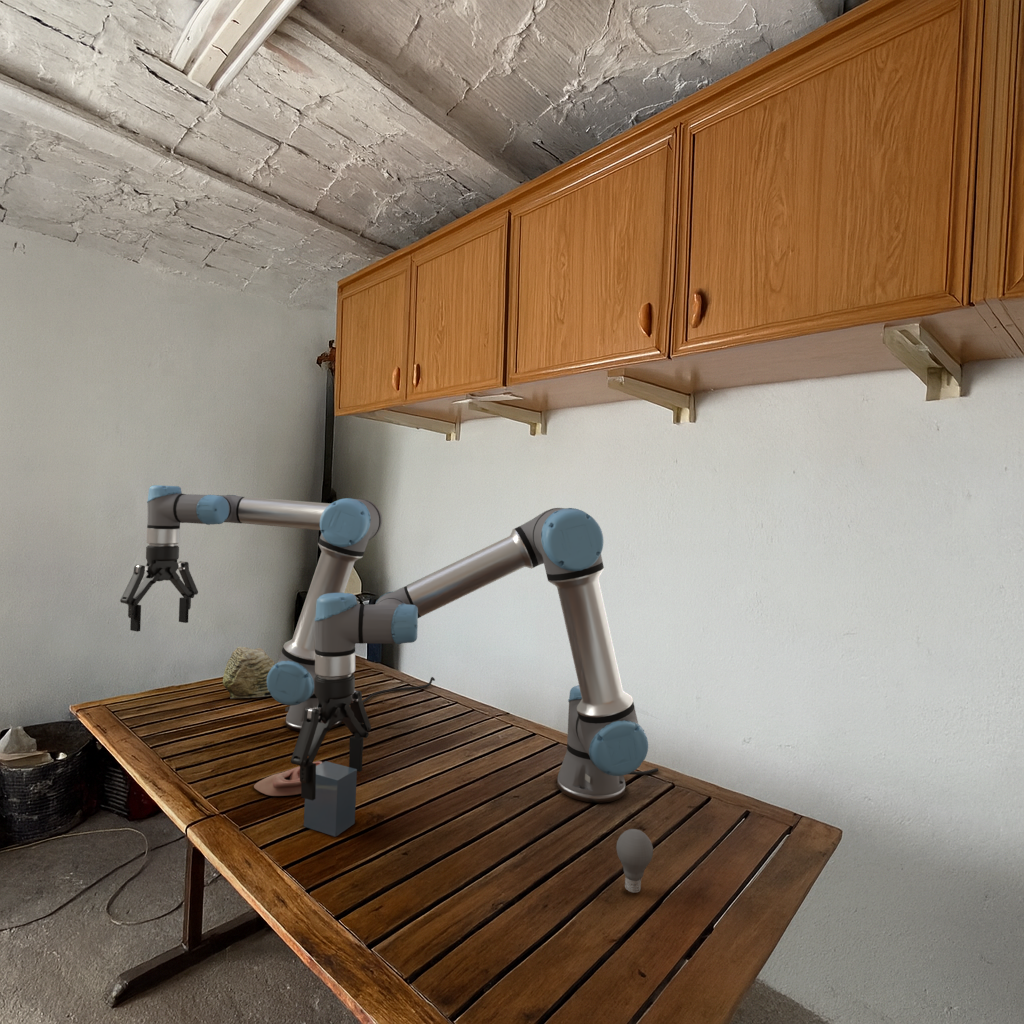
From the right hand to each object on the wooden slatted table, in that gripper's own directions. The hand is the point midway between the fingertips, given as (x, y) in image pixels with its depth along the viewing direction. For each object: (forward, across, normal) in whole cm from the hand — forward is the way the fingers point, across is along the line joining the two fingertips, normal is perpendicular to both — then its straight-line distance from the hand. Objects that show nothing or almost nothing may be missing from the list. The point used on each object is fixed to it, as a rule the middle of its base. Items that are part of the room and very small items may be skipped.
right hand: (333, 783), depth 122 cm
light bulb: (+9, -7, +57) cm, 58 cm away
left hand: (-21, -15, -70) cm, 74 cm away
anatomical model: (+8, -8, -19) cm, 22 cm away
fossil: (+7, -50, -73) cm, 89 cm away
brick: (+8, 0, 0) cm, 8 cm away
